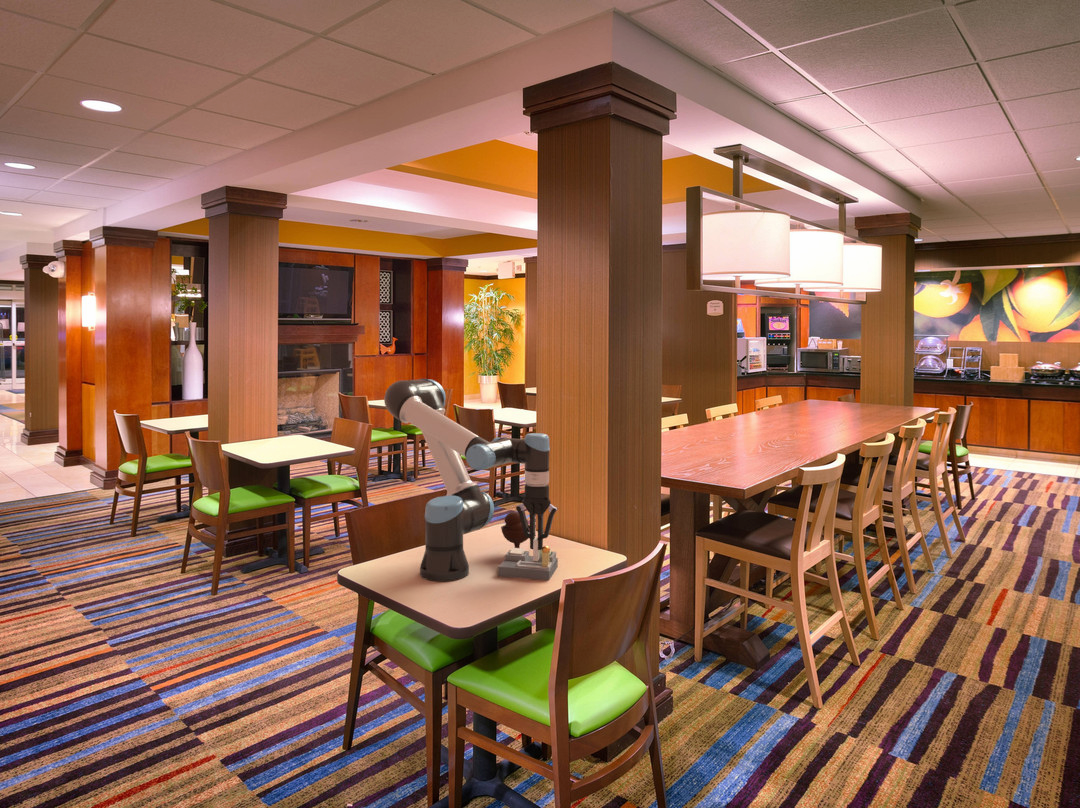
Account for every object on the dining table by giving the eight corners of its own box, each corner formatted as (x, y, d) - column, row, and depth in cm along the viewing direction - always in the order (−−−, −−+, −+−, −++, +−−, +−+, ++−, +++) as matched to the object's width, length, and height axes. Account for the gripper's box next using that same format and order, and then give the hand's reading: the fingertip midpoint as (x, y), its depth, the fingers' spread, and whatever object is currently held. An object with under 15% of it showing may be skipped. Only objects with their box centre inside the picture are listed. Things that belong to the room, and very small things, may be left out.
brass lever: (540, 566, 212) (540, 546, 211) (542, 564, 214) (542, 544, 214) (549, 567, 211) (549, 547, 211) (550, 564, 214) (550, 545, 213)
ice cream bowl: (530, 560, 229) (530, 516, 227) (497, 558, 230) (497, 514, 229) (535, 551, 239) (535, 508, 238) (504, 549, 241) (504, 507, 240)
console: (498, 576, 213) (498, 560, 212) (509, 563, 226) (509, 548, 225) (549, 580, 209) (549, 564, 209) (557, 567, 222) (557, 551, 222)
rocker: (509, 556, 220) (509, 552, 220) (512, 551, 223) (512, 547, 223) (522, 557, 220) (521, 553, 219) (524, 552, 222) (524, 548, 222)
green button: (538, 560, 218) (538, 551, 218) (540, 557, 222) (540, 548, 221) (549, 561, 217) (549, 552, 217) (551, 558, 221) (551, 548, 221)
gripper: (513, 485, 209) (512, 561, 211) (555, 487, 206) (554, 564, 208) (519, 480, 216) (519, 554, 218) (559, 482, 214) (559, 557, 215)
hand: (536, 559), depth 213 cm, fingers closed
